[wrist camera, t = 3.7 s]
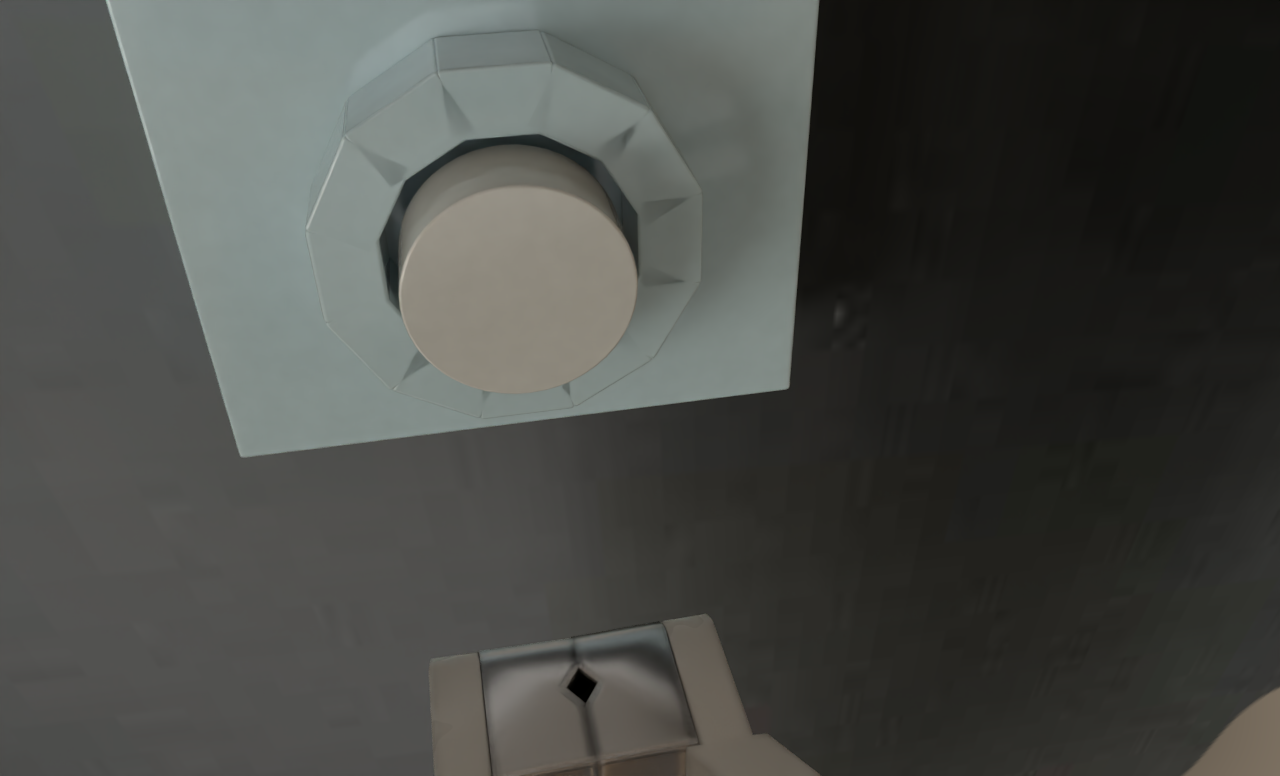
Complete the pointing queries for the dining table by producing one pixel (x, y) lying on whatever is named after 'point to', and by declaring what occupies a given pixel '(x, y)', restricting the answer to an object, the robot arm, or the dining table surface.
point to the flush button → (514, 270)
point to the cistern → (440, 132)
